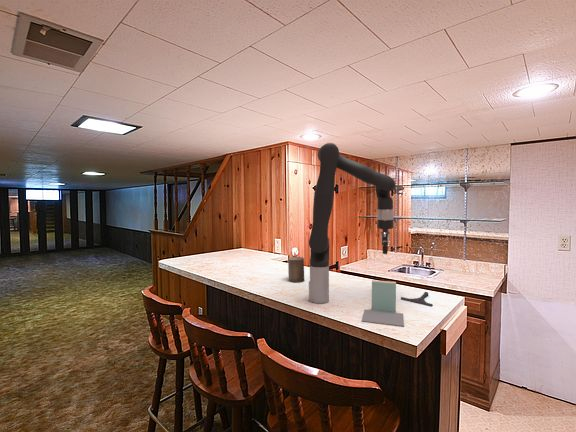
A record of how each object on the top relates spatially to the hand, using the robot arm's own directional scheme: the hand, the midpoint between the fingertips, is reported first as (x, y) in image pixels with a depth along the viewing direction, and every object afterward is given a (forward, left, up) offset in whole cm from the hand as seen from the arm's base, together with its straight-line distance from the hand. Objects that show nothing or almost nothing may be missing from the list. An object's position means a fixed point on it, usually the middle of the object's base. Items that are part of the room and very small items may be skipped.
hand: (385, 252), depth 147 cm
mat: (0, -25, -23) cm, 34 cm away
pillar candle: (-52, +19, -23) cm, 60 cm away
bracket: (+17, +5, -24) cm, 30 cm away
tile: (0, -16, -23) cm, 28 cm away
